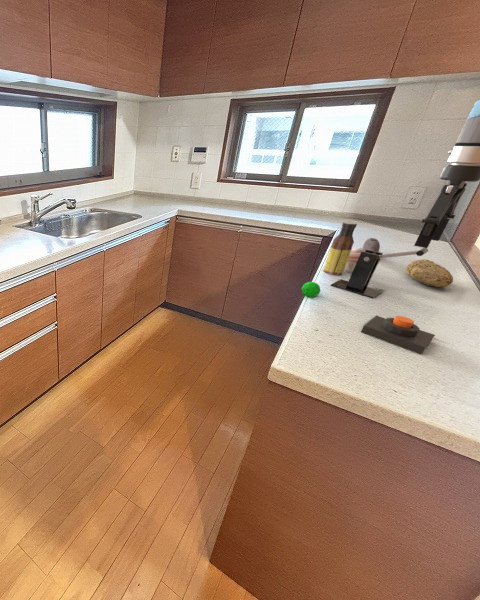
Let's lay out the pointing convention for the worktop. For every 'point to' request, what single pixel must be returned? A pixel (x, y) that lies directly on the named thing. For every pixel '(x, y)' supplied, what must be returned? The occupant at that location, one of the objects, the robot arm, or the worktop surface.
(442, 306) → the worktop surface
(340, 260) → the sauce bottle
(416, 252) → the lever
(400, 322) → the button
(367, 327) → the button block
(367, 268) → the bracket
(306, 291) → the green bumpy ball
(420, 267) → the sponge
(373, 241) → the perforated stone tool
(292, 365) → the worktop surface
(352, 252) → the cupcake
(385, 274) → the worktop surface
